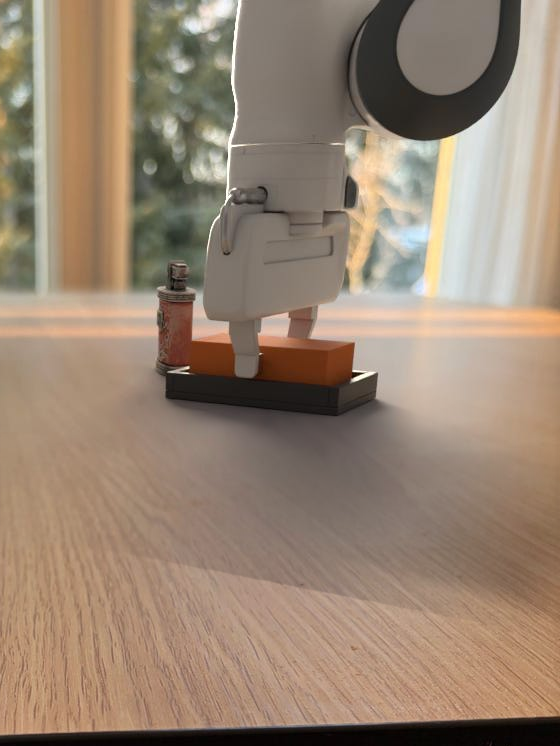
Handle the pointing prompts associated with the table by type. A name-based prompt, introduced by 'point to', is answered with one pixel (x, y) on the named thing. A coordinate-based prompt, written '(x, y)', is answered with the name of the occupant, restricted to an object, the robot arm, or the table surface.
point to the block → (278, 359)
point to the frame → (273, 392)
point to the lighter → (174, 319)
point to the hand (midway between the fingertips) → (272, 368)
